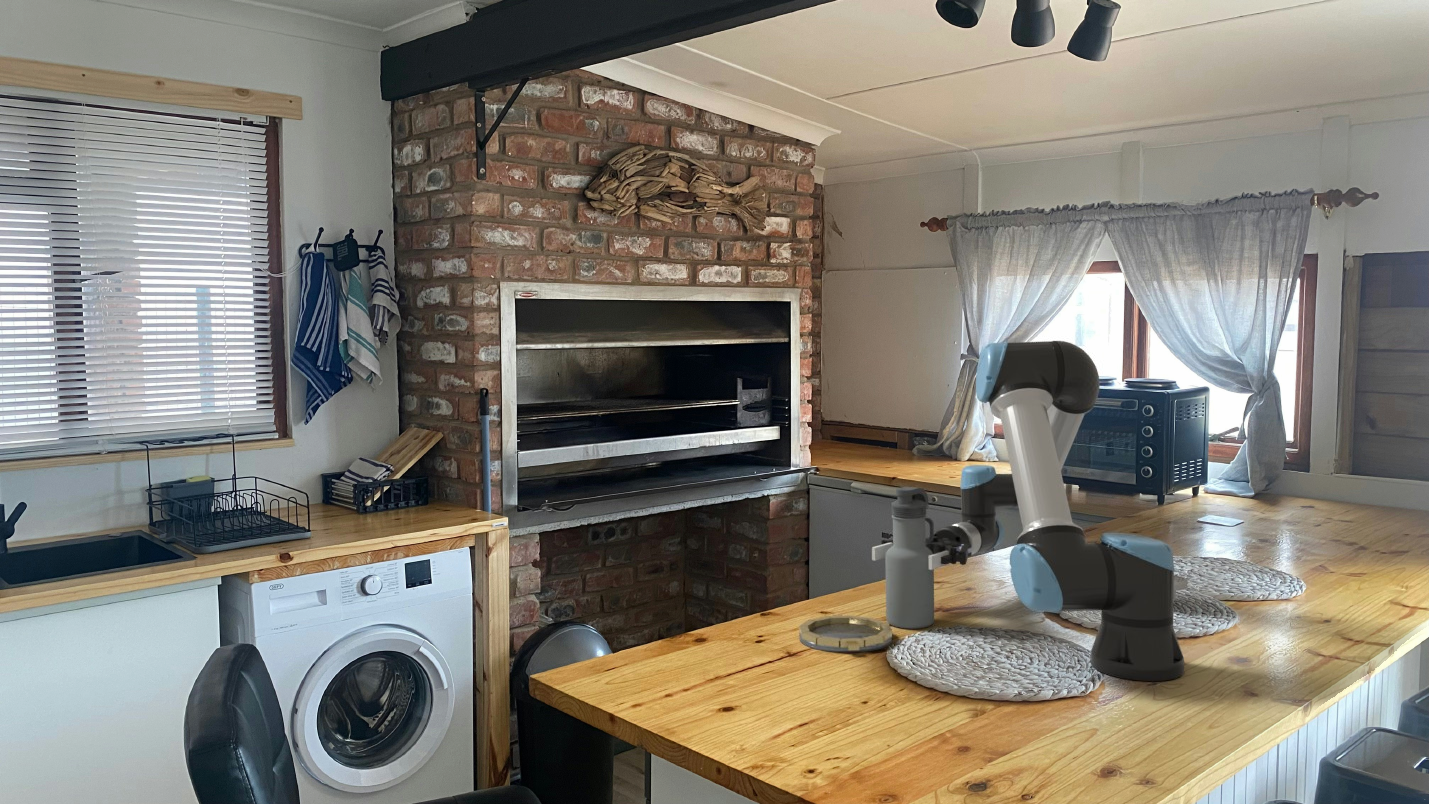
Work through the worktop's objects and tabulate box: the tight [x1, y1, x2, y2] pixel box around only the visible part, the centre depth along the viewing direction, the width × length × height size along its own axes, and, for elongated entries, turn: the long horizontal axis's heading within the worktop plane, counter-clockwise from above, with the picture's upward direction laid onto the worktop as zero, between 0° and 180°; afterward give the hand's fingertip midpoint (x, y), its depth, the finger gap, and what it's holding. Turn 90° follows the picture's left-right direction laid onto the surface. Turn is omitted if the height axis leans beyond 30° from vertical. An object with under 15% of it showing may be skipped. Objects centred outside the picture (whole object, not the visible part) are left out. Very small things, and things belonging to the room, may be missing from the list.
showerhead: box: [1173, 574, 1189, 602], centre depth 216 cm, size 9×7×10 cm
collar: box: [798, 614, 893, 654], centre depth 199 cm, size 22×18×2 cm
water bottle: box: [884, 486, 935, 630], centre depth 209 cm, size 10×10×28 cm
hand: (901, 558), depth 206 cm, fingers open, 13 cm apart
